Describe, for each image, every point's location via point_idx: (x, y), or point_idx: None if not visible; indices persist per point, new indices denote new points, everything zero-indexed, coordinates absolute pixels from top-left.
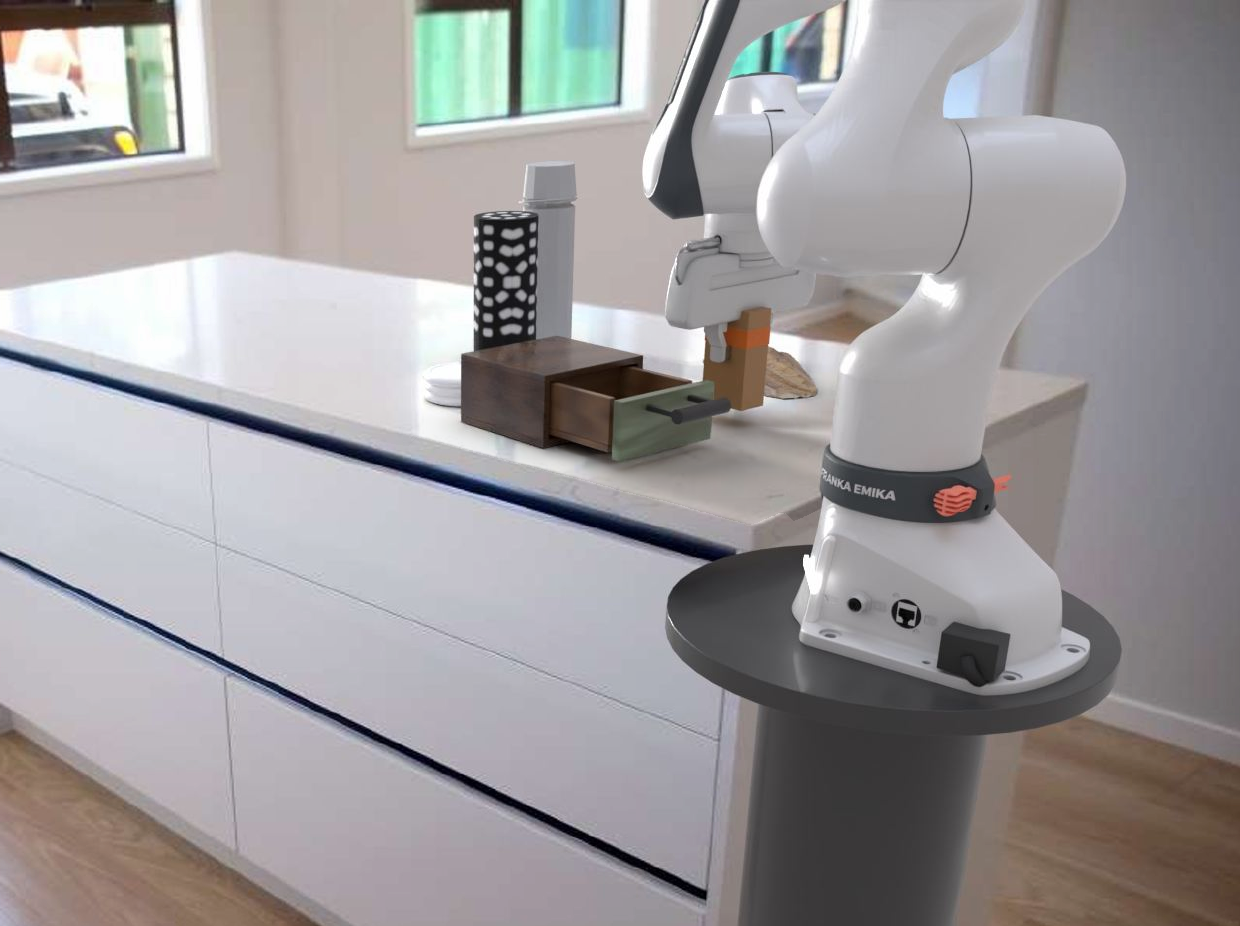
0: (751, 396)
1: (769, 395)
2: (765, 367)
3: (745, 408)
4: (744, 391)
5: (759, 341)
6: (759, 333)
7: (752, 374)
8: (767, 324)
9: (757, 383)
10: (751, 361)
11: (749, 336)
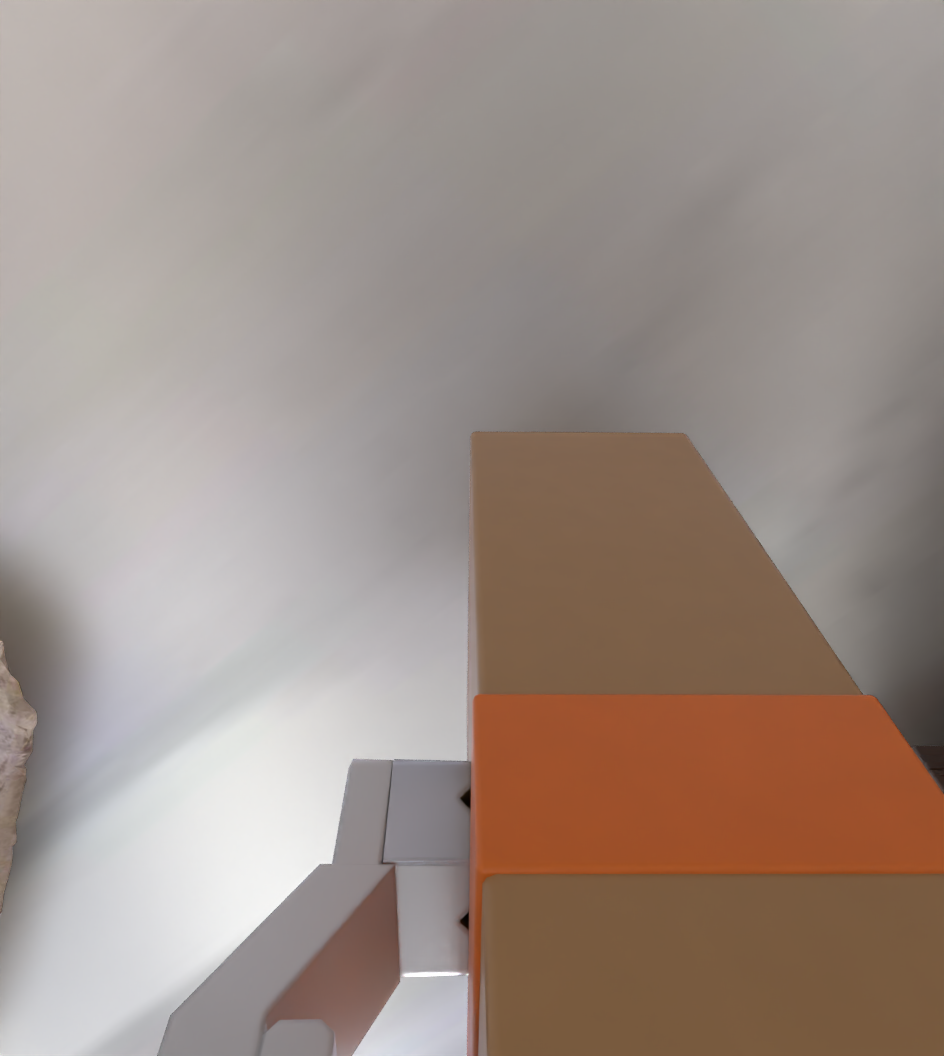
0: (611, 463)
1: (25, 711)
2: (493, 556)
3: (649, 434)
4: (706, 484)
5: (665, 733)
6: (704, 813)
7: (657, 539)
8: (552, 908)
9: (565, 502)
10: (713, 607)
11: (902, 805)
